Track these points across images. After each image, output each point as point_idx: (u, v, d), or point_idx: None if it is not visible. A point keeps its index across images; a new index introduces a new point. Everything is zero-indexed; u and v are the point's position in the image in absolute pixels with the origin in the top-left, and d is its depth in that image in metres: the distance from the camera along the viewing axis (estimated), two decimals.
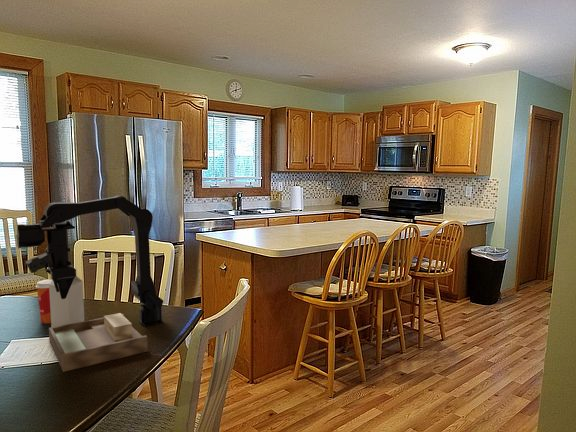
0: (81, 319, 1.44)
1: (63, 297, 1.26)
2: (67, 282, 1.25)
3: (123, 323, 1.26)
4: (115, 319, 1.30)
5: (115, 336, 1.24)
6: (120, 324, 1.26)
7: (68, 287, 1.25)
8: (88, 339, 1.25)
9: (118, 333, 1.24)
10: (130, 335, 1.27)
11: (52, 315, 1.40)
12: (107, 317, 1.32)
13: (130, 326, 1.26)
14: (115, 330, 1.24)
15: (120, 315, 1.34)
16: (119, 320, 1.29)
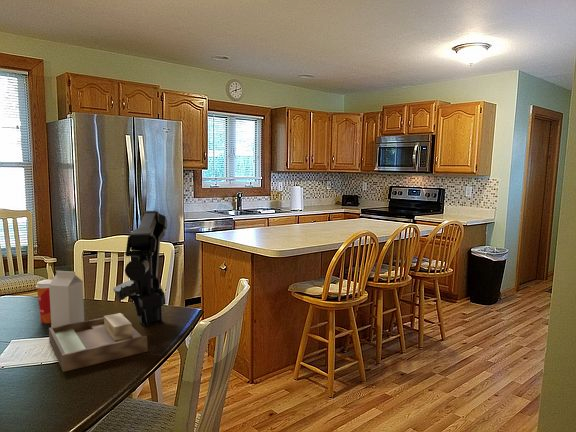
0: (81, 319, 1.44)
1: (149, 323, 1.31)
2: (153, 308, 1.30)
3: (123, 323, 1.26)
4: (115, 319, 1.30)
5: (115, 336, 1.24)
6: (120, 324, 1.26)
7: (154, 313, 1.31)
8: (88, 339, 1.25)
9: (118, 333, 1.24)
10: (130, 335, 1.27)
11: (52, 315, 1.40)
12: (107, 317, 1.32)
13: (130, 326, 1.26)
14: (115, 330, 1.24)
15: (120, 315, 1.34)
16: (119, 320, 1.29)
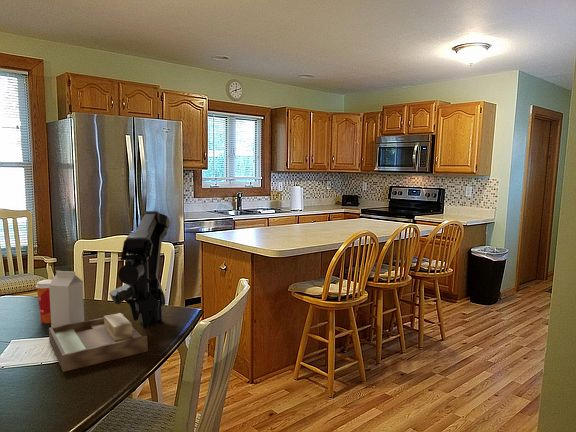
0: (81, 319, 1.44)
1: (145, 327, 1.30)
2: (149, 313, 1.29)
3: (123, 323, 1.26)
4: (115, 319, 1.30)
5: (115, 336, 1.24)
6: (120, 324, 1.26)
7: (150, 317, 1.30)
8: (88, 339, 1.25)
9: (118, 333, 1.24)
10: (130, 335, 1.27)
11: (52, 315, 1.40)
12: (107, 317, 1.32)
13: (130, 326, 1.26)
14: (115, 330, 1.24)
15: (120, 315, 1.34)
16: (119, 320, 1.29)
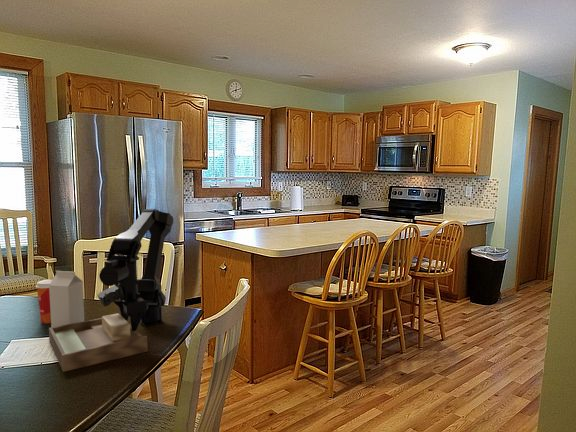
0: (81, 319, 1.44)
1: (134, 329, 1.28)
2: (138, 315, 1.27)
3: (121, 323, 1.26)
4: (113, 319, 1.30)
5: (113, 336, 1.24)
6: (118, 324, 1.25)
7: (139, 319, 1.28)
8: (88, 339, 1.25)
9: (116, 334, 1.24)
10: (128, 335, 1.26)
11: (52, 315, 1.40)
12: (105, 317, 1.31)
13: (128, 326, 1.26)
14: (113, 330, 1.24)
15: (118, 315, 1.33)
16: (117, 321, 1.29)
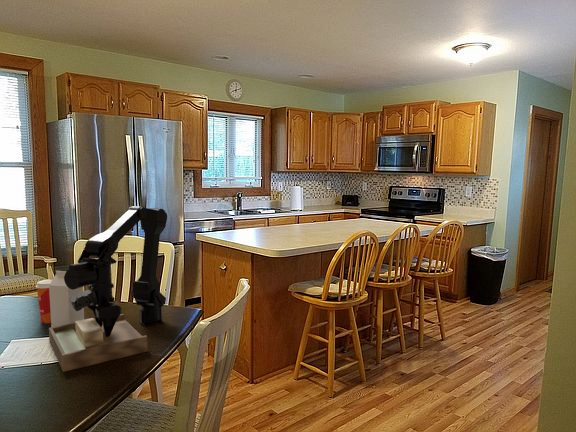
0: (81, 319, 1.44)
1: (107, 335, 1.24)
2: (112, 320, 1.23)
3: (94, 329, 1.22)
4: (86, 324, 1.25)
5: (85, 343, 1.19)
6: (90, 330, 1.21)
7: (112, 325, 1.23)
8: None
9: (88, 340, 1.20)
10: (101, 341, 1.22)
11: (52, 315, 1.40)
12: (78, 322, 1.27)
13: (101, 332, 1.22)
14: (85, 336, 1.19)
15: (92, 320, 1.29)
16: (90, 326, 1.24)
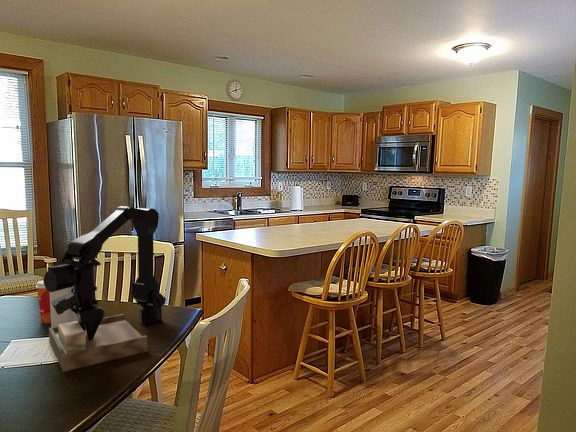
0: None
1: (90, 338, 1.21)
2: (95, 323, 1.20)
3: (76, 333, 1.19)
4: (69, 328, 1.23)
5: (67, 346, 1.16)
6: (73, 333, 1.18)
7: (95, 328, 1.21)
8: None
9: (70, 344, 1.17)
10: (84, 345, 1.19)
11: (52, 315, 1.40)
12: (61, 326, 1.24)
13: (83, 336, 1.19)
14: (67, 340, 1.16)
15: (75, 323, 1.26)
16: (73, 329, 1.21)
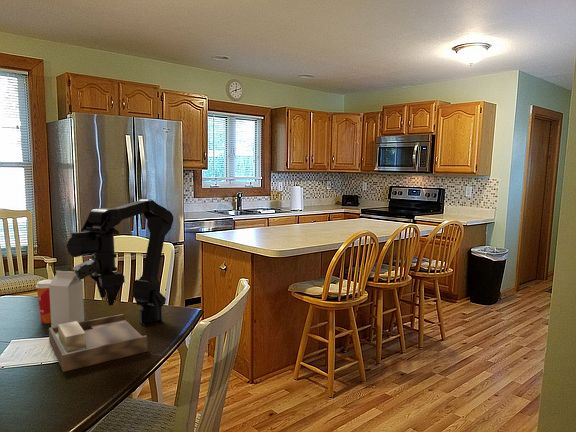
0: (81, 319, 1.44)
1: (110, 303, 1.25)
2: (115, 288, 1.25)
3: (76, 333, 1.19)
4: (69, 328, 1.23)
5: (67, 346, 1.16)
6: (73, 333, 1.18)
7: (115, 293, 1.25)
8: (88, 339, 1.25)
9: (70, 344, 1.17)
10: (84, 345, 1.19)
11: (52, 315, 1.40)
12: (61, 326, 1.24)
13: (83, 336, 1.19)
14: (67, 340, 1.16)
15: (75, 323, 1.26)
16: (73, 329, 1.21)
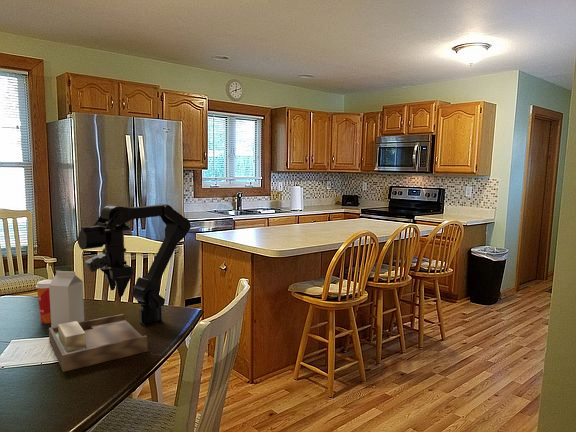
0: (81, 319, 1.44)
1: (120, 295, 1.33)
2: (124, 281, 1.32)
3: (76, 333, 1.19)
4: (69, 328, 1.23)
5: (67, 346, 1.16)
6: (73, 333, 1.18)
7: (125, 286, 1.32)
8: (88, 339, 1.25)
9: (70, 344, 1.17)
10: (84, 345, 1.19)
11: (52, 315, 1.40)
12: (61, 326, 1.24)
13: (83, 336, 1.19)
14: (67, 340, 1.16)
15: (75, 323, 1.26)
16: (73, 329, 1.21)
